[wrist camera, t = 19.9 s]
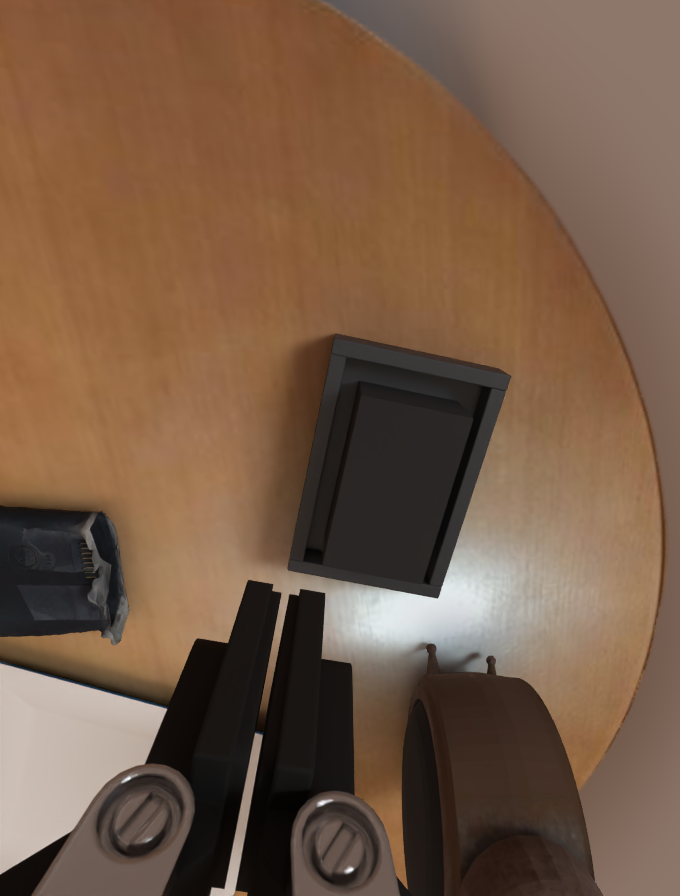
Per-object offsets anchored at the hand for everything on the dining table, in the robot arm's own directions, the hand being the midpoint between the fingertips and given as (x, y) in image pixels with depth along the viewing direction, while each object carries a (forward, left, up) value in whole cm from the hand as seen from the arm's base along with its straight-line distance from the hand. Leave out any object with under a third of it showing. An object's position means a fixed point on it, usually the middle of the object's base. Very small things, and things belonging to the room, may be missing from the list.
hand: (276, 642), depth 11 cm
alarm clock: (+18, +12, -18) cm, 29 cm away
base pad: (+2, +4, -18) cm, 19 cm away
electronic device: (+13, -18, -18) cm, 29 cm away
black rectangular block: (+2, +4, -18) cm, 18 cm away
